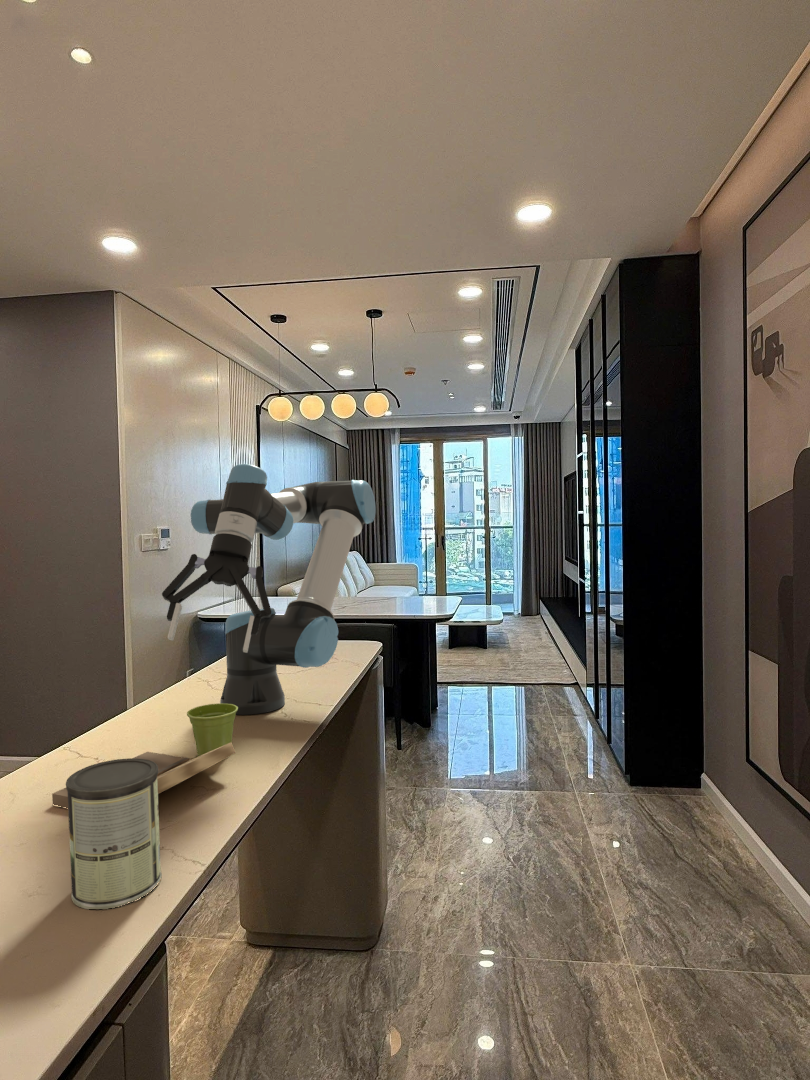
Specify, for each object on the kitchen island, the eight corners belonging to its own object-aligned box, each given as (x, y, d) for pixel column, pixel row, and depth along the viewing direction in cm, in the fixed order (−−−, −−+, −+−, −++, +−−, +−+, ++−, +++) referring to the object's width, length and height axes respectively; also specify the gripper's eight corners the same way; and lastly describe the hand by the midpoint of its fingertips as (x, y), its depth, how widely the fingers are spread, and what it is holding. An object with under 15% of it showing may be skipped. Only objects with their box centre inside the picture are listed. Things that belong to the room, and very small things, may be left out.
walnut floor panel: (147, 762, 123) (147, 751, 123) (190, 769, 119) (189, 758, 119) (52, 806, 104) (52, 793, 104) (98, 816, 101) (98, 802, 100)
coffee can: (55, 891, 80) (50, 776, 80) (135, 856, 88) (132, 752, 88) (95, 922, 74) (90, 798, 73) (178, 881, 82) (174, 769, 81)
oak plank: (195, 770, 118) (191, 759, 119) (235, 753, 115) (231, 742, 115) (104, 817, 100) (100, 804, 100) (149, 798, 96) (144, 785, 97)
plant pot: (186, 766, 120) (185, 719, 120) (189, 749, 129) (188, 705, 129) (239, 760, 123) (238, 714, 123) (238, 744, 132) (237, 701, 132)
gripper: (165, 519, 124) (134, 629, 116) (297, 544, 128) (276, 652, 120) (170, 533, 131) (141, 637, 123) (295, 556, 134) (275, 659, 127)
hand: (207, 645), depth 121 cm, fingers open, 13 cm apart
